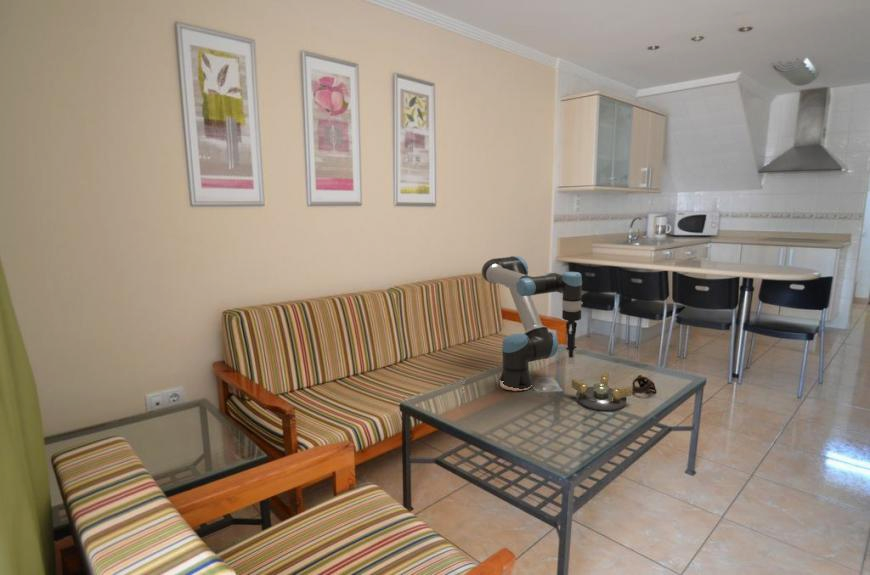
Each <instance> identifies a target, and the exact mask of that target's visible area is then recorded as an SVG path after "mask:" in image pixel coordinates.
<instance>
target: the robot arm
mask: <svg viewBox="0 0 870 575" xmlns="http://www.w3.org/2000/svg"><path fill="white" fill-rule="evenodd" d="M528 274H529V267H528V264H527V261H526V260H525V259H524V258H523V257H521V256H517V255H516V256H514V255H511V256H506V257H497V258H491V259H489V260H487V261H486V262H485V263H484V264H483V266H482V268H481V276H482V278H483V279H484V281H486V282H488V283H490V284H494V285H495V284H499V285H501V286H504V287H506V288H508V289H509V292H510V295H511V298H512V299H513V302H514V306H515V308H516V311H517V313H518V316H519V319H520V321H521V324H522V326H523V330H524V333H512V334H509V335H507V336H505V337H504V338H503V340H502V344H501V346H502V347H501V352H502V371H501V375H500V376H499V380H501V381H504V382H503V384H504V385H506V386H508V387H513V388H519V389H524V388H528V387H530V386H531V385H532V382H533V379H532V376H531V372H530V370H529V363H530V362H535V361H539V360H544V359H545V360H548V359H549V358H552V357H554V356H556V354H557V352H558V348H559V340H558V337H557V335H556V334H555V333H554V332H552V331H549V330H548V327H547V326H545V325H544V324H543V323H542V320H541V318H540V315H539V313H538V310H537V307H536V306H535V303H534V300H533V299H532V296H537V295H541V294H542V295H543V294H548V293H550V294H551V293H560V294H562V299H561V300H562V302H561V305H562V306H561V308H562V315H561V318H562V319H563V320H564V321H567V322H566V327H565V328H566V334H567V336H566V338H567V340H566V342H567V343H566V344H567V347H566V348H565V350H566V351H567V365H575V358H576V357H575V356H576V355H575V354H576V353H575V351H576V350H575V349H577V346H576V334H577V326H578V323H577V322H576V321H580V320H581V319H582V305H583V303H584V302H583V301H582V293H583V292H582V291H583V290H582V288H583V280H582V277H583V276H582V273H580V272H578V271H566V272H564V273H562V274H561V273H558V272H548V273H546V274H544V275H539V276H538V275H537V276H530V275H528Z"/></svg>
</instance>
